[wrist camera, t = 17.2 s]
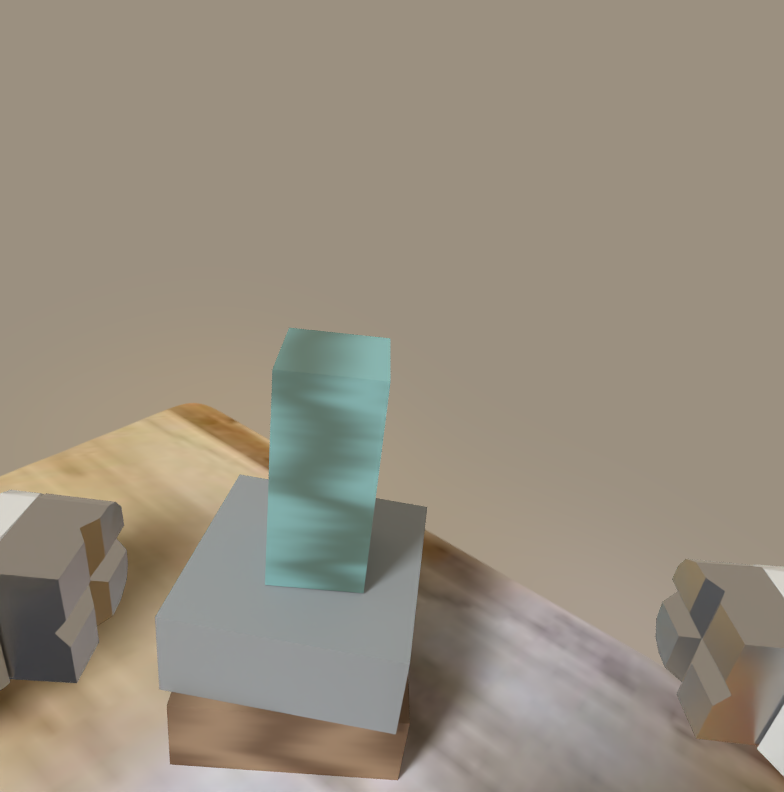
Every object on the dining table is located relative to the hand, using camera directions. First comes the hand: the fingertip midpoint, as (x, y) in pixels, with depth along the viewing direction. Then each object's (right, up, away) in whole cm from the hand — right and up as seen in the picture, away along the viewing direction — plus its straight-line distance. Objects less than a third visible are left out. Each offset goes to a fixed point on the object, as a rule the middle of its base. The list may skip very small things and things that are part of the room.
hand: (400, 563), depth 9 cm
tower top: (-5, -11, +28) cm, 30 cm away
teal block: (-4, -6, +25) cm, 26 cm away
